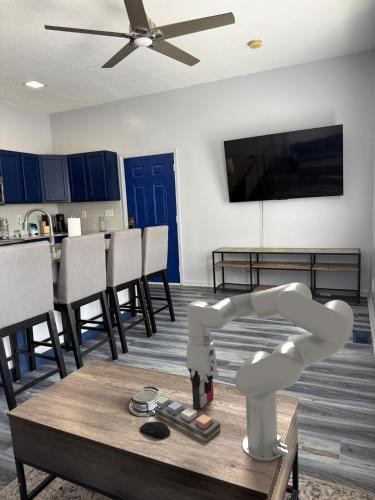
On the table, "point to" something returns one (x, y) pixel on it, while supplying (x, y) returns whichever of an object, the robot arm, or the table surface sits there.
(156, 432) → the gaming mouse
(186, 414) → the key ivory
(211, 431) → the keypad
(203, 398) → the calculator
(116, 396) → the table surface
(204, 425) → the key terracotta
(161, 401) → the key sage
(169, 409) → the key slate
